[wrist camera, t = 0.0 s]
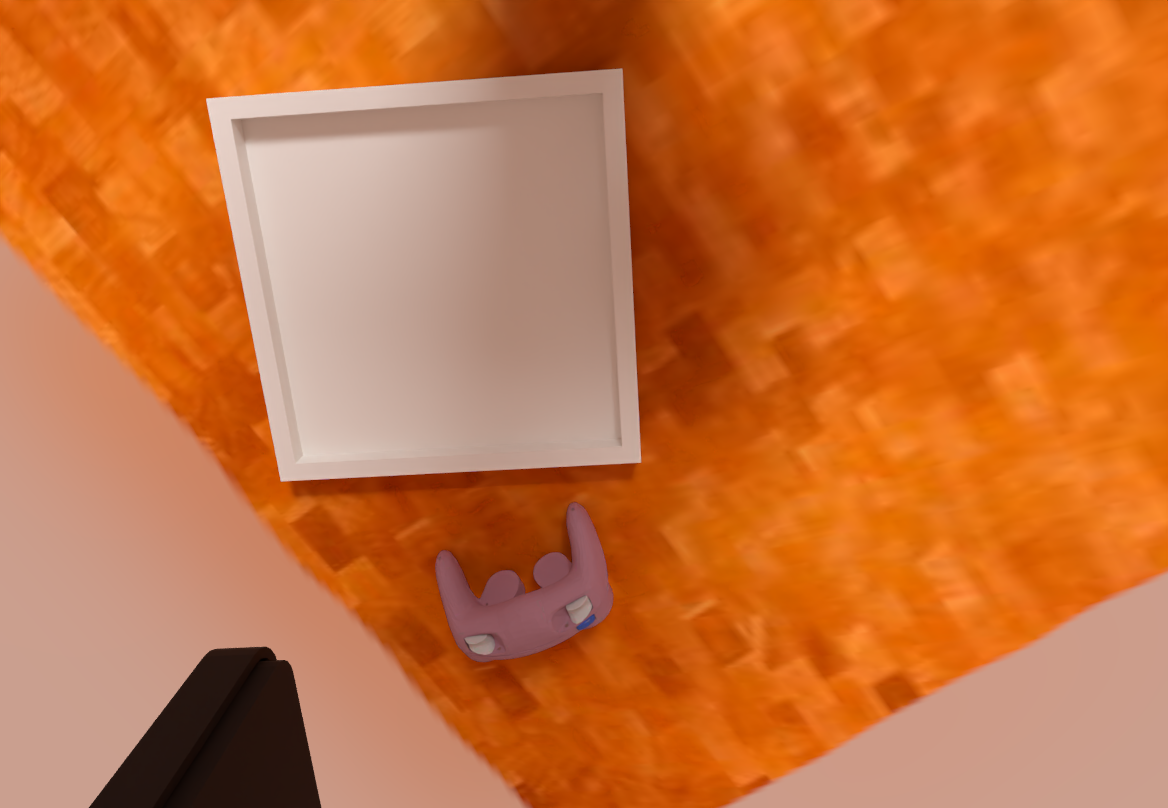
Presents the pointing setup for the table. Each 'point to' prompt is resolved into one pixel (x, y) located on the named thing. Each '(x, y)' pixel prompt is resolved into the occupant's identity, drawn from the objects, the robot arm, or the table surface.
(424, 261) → the tray
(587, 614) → the video game controller
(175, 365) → the table surface
